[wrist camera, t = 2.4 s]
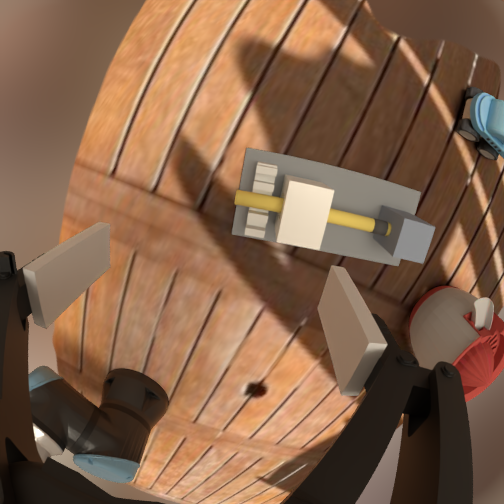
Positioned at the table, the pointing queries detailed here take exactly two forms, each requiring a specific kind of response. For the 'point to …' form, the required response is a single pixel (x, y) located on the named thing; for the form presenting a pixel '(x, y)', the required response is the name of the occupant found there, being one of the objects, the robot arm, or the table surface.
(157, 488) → the table surface
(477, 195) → the table surface
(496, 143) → the toy excavator
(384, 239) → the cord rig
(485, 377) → the citrus juicer
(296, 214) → the sleeve
